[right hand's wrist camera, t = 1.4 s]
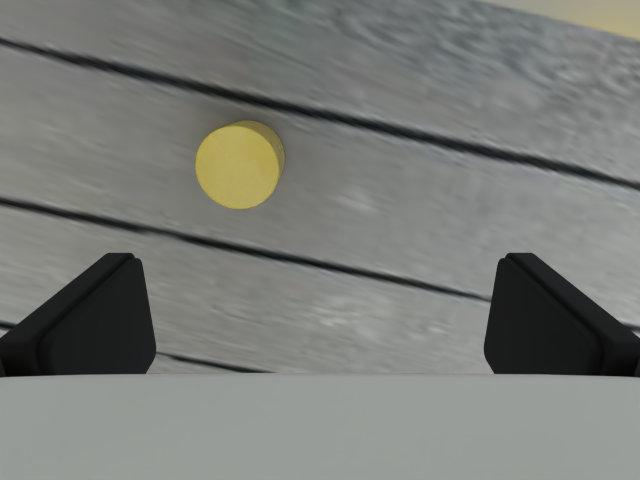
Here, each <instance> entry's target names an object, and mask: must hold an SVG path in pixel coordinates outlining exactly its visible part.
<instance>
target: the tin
mask: <svg viewBox="0 0 640 480" xmlns="http://www.w3.org/2000/svg"><path fill="white" fill-rule="evenodd" d="M284 165H285V152H284V148H283V145H282V143H281V141H280V139H279V137H278V136H277V135H276V133H275V132H274V131H273V130H272V129H270V128H269V127H268V126H266V125H264V124H262V123H260V122H256V121H251V120H244V121H238V122H235V123H232V124H230V125H227V126H224V127H221V128H219V129H217V130H215V131H213V132H212V133H210V134H209V135H208V136H207V137H206V138H205V139H204V140H203V142H202V143H201V144H200V146H199V149H198V151H197V154H196V159H195V169H196V175H197V178H198V181H199V183H200V185H201V187H202V188H203V190H204V191H205V193H206V194H207V195H208V196H209V197H210V198H211V199H213V200H214V201H215V202H217V203H219V204H220V205H223V206H225V207H228V208H232V209H248V208H252V207H255V206H257V205H259V204H261V203H262V202H264V201H265V200H266V199H267V198H268V197H269V196H270V195H271V194H272V192H273V191H274V189H275V187H276V185H277V183H278V180H279V178H280V176H281V174H282V171H283V169H284Z"/></svg>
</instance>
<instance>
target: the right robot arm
mask: <svg viewBox="0 0 640 480" xmlns="http://www.w3.org/2000/svg"><path fill="white" fill-rule="evenodd" d="M155 355H156V342H155V336H154V330H153V325H152V319H151V313H150V307H149V301H148V295H147V289H146V283H145V277H144V271H143V265H142V262H141V260H140V259H139V258H135V257H134V255H133V254H132V253H107V254H106V255H104V256H103V257H102V258H101V259H99V260H98V261H97V262H95V263H94V264H93V265H92V266H90V267H89V268H88V269H87V270H85V271H84V272H83V273H82V274H80V275H79V276H78V277H77V278H75V279H74V280H73V281H72V282H70V283H69V284H68V285H67V286H65V287H64V288H63V289H61V290H60V291H59V292H58V293H56V294H55V295H54V296H53V297H51V298H50V299H49V300H48V301H46V302H45V303H44V304H43V305H41V306H40V307H39V308H38V309H36V310H35V311H34V312H33V313H31V314H30V315H29V316H27V317H26V318H25V319H24V320H22V321H21V322H20V323H19V324H17V325H16V326H15V327H14V328H12V329H11V330H10V331H9V332H7V333H6V334H5V335H4V336H2V337H1V338H0V480H640V338H639V337H638V336H636V335H635V334H634V333H633V332H631V331H630V330H629V329H628V328H626V327H625V326H624V325H623V324H621V323H620V322H619V321H618V320H616V319H615V318H614V317H613V316H611V315H610V314H609V313H607V312H606V311H605V310H604V309H602V308H601V307H600V306H599V305H597V304H596V303H595V302H594V301H592V300H591V299H590V298H589V297H587V296H586V295H585V294H584V293H582V292H581V291H580V290H579V289H577V288H576V287H575V286H573V285H572V284H571V283H570V282H568V281H567V280H566V279H565V278H563V277H562V276H561V275H560V274H558V273H557V272H556V271H555V270H553V269H552V268H551V267H550V266H548V265H547V264H546V263H545V262H543V261H542V260H541V259H539V258H538V257H537V256H536V255H534V254H533V253H508V254H507V255H506V257H505V258H501V259H500V260H499V262H498V265H497V271H496V277H495V283H494V289H493V295H492V301H491V307H490V313H489V319H488V325H487V330H486V336H485V342H484V355H485V358H486V360H487V362H488V364H489V365H490V367H491V369H492V370H493V372H494V374H428V373H201V374H146V372H147V370H148V369H149V367H150V365H151V364H152V362H153V360H154V358H155Z"/></svg>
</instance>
